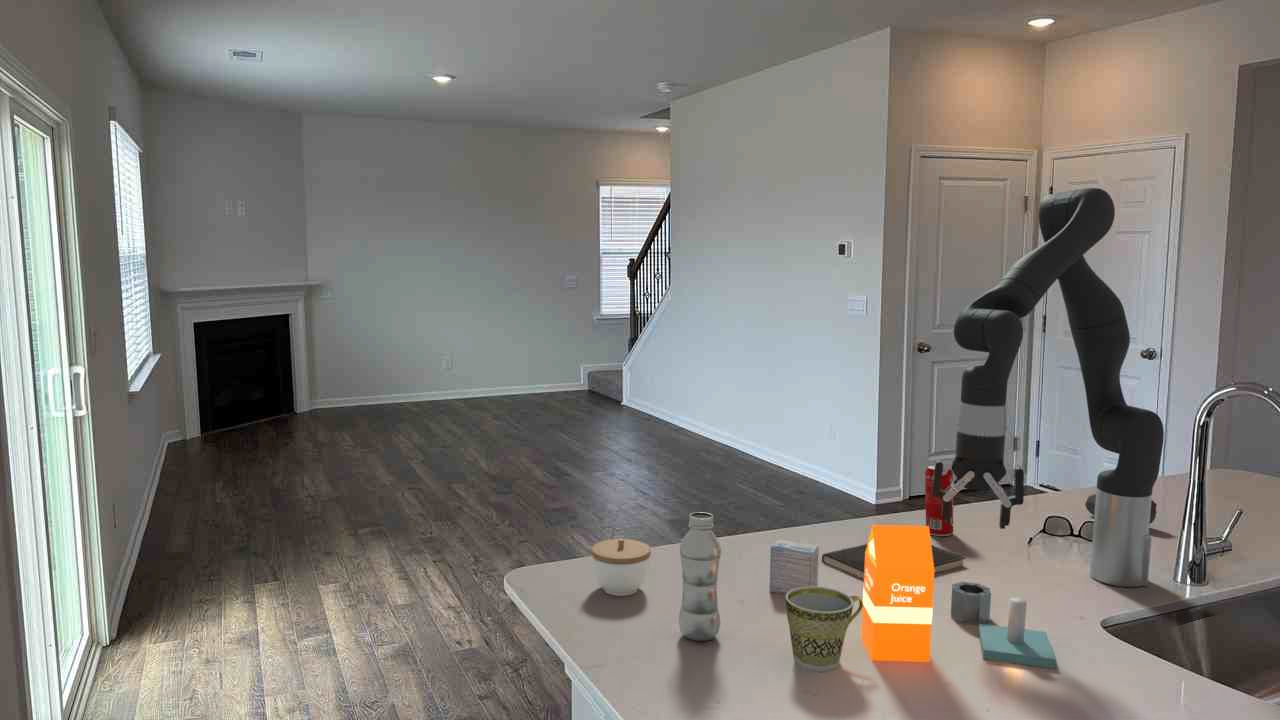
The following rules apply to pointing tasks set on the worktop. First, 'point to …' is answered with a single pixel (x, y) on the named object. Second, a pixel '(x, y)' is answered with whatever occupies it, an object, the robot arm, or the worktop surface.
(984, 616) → the tube
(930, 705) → the worktop surface
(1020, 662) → the shaft stand
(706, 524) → the plastic bottle
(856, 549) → the hardcover book
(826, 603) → the ceramic cup
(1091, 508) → the perforated stone tool
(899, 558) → the orange juice
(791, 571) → the medicine box
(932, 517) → the beverage can
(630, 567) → the lidded jar
